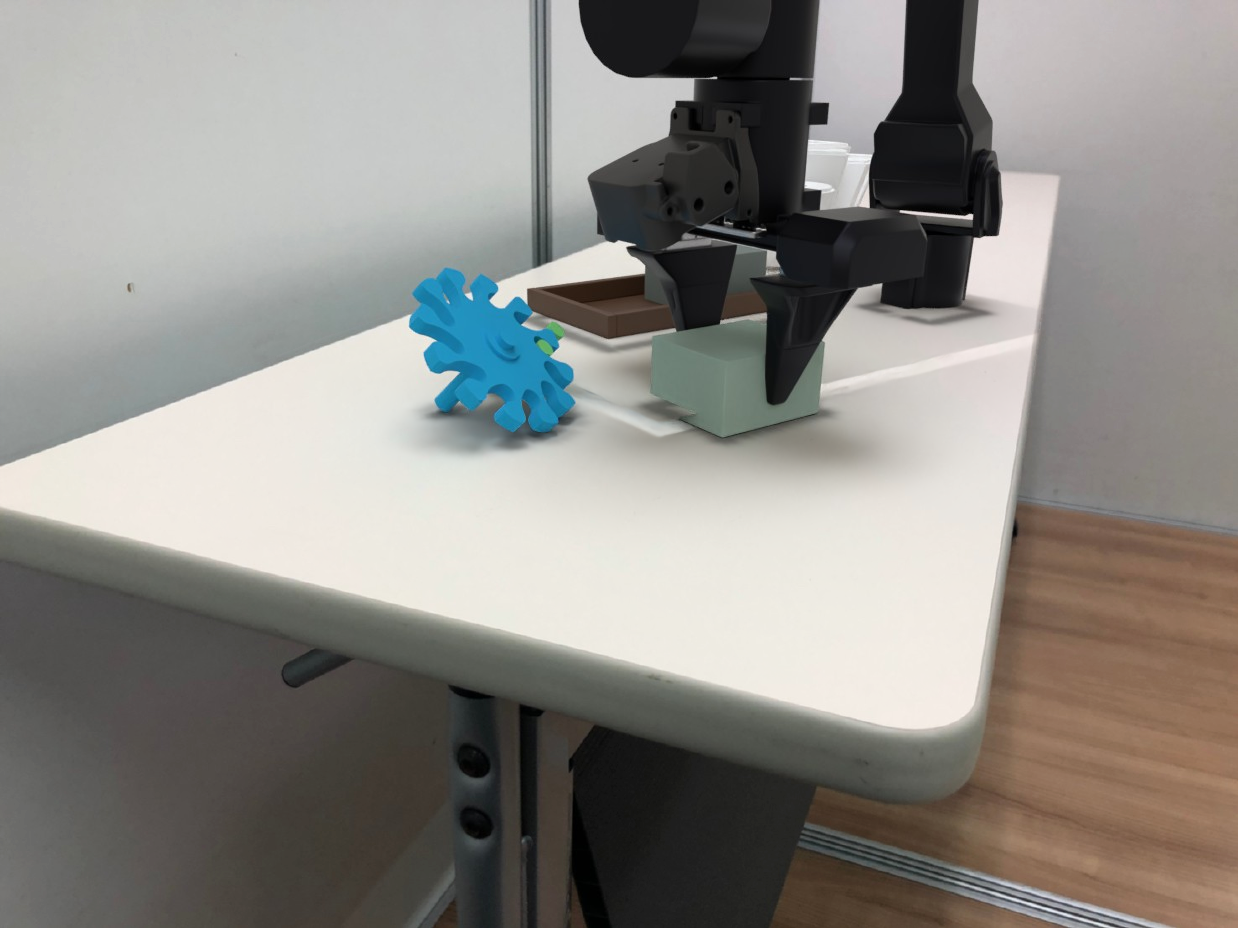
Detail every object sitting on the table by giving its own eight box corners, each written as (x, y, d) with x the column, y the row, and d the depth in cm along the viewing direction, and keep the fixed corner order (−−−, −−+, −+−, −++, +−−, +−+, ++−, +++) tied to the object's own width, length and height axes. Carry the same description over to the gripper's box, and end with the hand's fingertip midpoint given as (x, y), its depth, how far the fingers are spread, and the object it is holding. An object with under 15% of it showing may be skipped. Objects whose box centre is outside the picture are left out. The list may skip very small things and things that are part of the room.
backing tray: (705, 292, 81) (707, 265, 81) (794, 316, 74) (797, 286, 73) (527, 319, 72) (526, 288, 71) (608, 350, 64) (608, 316, 63)
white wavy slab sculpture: (753, 222, 120) (758, 132, 116) (887, 232, 114) (898, 137, 110) (639, 269, 90) (641, 151, 86) (812, 286, 84) (823, 160, 80)
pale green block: (743, 385, 57) (748, 319, 56) (818, 413, 53) (825, 341, 51) (649, 406, 53) (651, 335, 52) (722, 438, 49) (726, 361, 47)
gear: (498, 433, 44) (387, 260, 46) (426, 500, 47) (324, 336, 49) (623, 402, 53) (527, 258, 55) (556, 459, 57) (467, 322, 58)
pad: (712, 289, 79) (714, 239, 77) (764, 302, 74) (767, 250, 73) (644, 299, 75) (645, 247, 73) (693, 314, 70) (696, 259, 69)
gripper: (510, 76, 49) (519, 370, 55) (767, 81, 35) (741, 475, 41) (680, 77, 55) (671, 343, 61) (956, 82, 41) (910, 425, 47)
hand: (734, 388), depth 53 cm, fingers closed on pale green block, 6 cm apart
